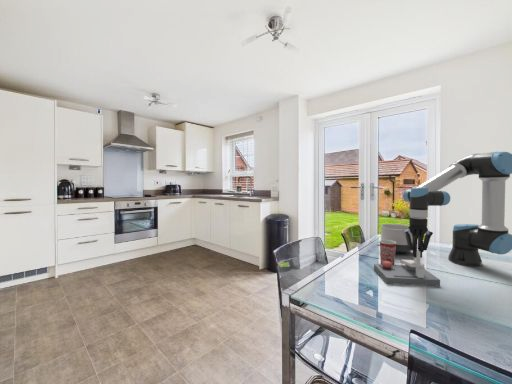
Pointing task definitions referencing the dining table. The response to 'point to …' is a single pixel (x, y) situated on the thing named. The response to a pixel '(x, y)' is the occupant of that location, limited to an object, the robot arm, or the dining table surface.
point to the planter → (396, 236)
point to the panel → (405, 275)
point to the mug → (387, 250)
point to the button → (387, 264)
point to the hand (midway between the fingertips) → (417, 263)
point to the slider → (420, 271)
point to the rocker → (411, 263)
